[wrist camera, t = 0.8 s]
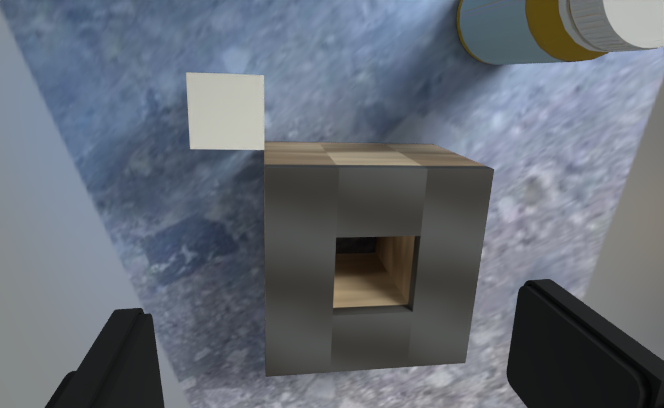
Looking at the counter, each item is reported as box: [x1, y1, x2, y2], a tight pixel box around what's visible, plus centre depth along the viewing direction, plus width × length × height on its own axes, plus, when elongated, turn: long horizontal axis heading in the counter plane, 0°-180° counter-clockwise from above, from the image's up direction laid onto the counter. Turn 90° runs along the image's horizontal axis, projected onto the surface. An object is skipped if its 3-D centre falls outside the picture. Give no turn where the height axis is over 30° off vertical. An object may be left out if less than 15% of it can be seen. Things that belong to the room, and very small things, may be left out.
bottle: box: [457, 0, 664, 65], centre depth 27 cm, size 7×7×15 cm
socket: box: [264, 141, 494, 377], centre depth 32 cm, size 14×14×10 cm
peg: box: [186, 72, 264, 150], centre depth 28 cm, size 4×4×10 cm
